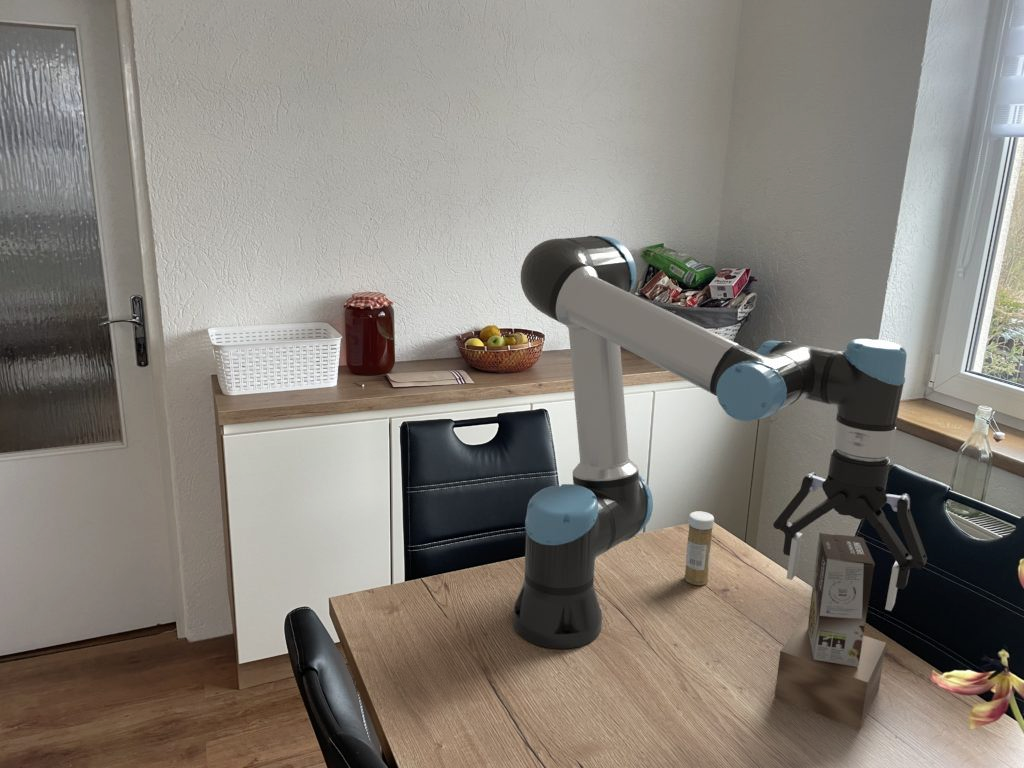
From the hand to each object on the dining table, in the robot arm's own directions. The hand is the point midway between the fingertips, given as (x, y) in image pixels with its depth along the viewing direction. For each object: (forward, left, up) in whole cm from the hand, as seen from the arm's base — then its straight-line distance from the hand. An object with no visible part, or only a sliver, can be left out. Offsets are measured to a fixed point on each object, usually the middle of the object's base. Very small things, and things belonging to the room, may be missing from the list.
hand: (839, 590), depth 114 cm
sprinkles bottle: (-29, +20, -17) cm, 39 cm away
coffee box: (0, 0, -9) cm, 9 cm away
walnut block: (0, 0, -17) cm, 17 cm away
